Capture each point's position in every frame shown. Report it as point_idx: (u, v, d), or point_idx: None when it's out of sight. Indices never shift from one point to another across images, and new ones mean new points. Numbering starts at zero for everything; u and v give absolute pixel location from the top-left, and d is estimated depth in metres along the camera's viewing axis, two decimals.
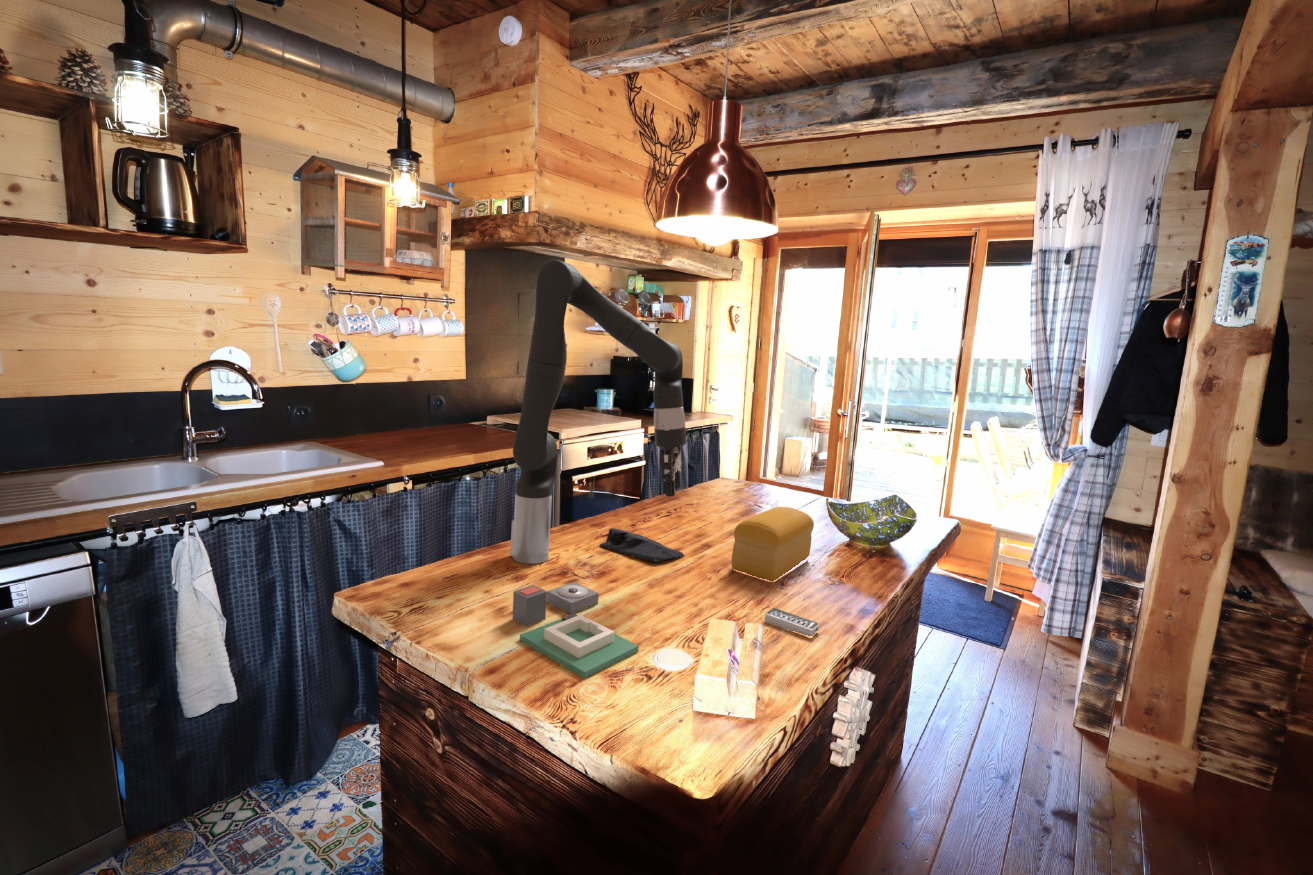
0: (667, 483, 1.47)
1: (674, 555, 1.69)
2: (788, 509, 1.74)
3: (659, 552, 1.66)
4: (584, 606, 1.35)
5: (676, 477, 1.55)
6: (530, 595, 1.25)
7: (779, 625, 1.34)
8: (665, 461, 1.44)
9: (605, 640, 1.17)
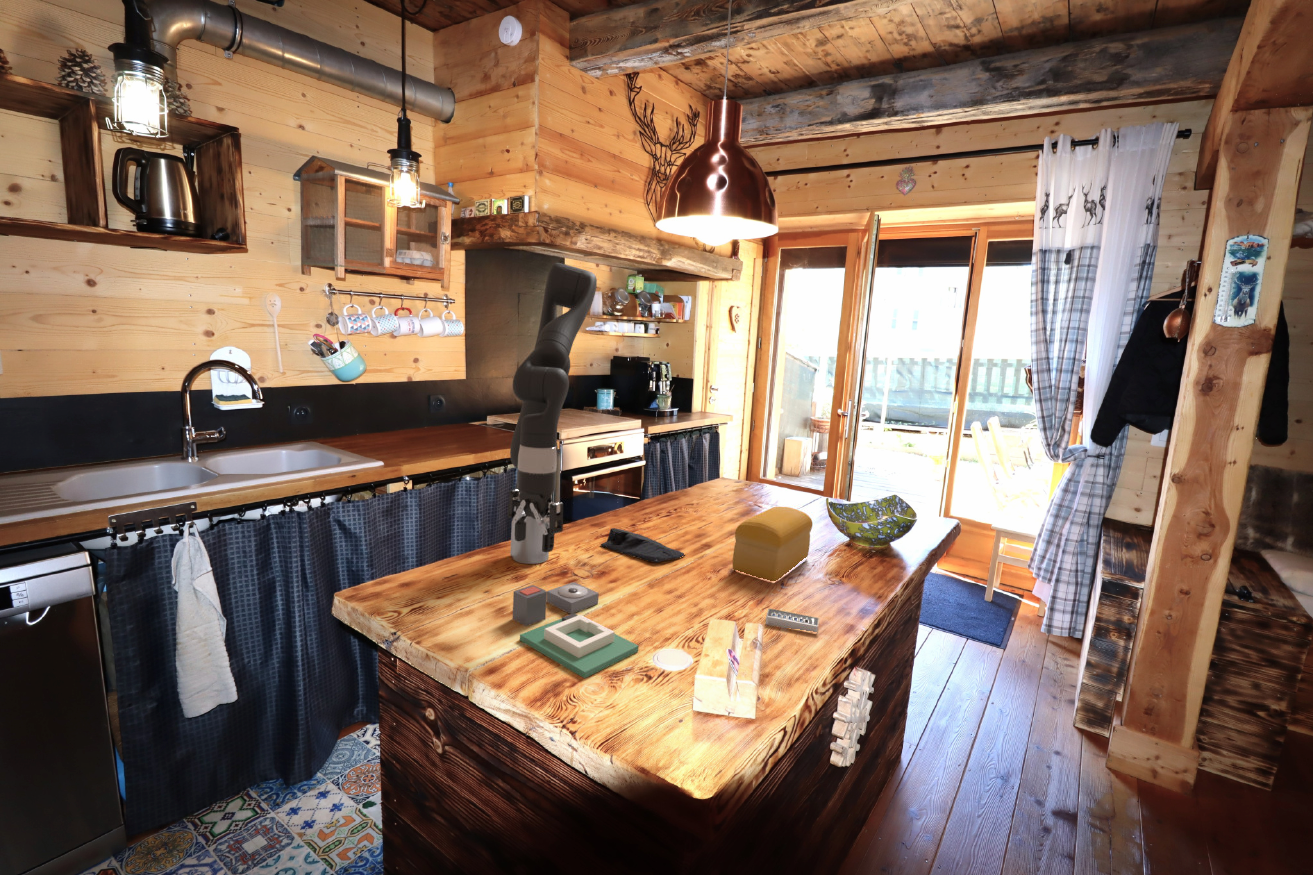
0: None
1: (675, 555, 1.69)
2: (787, 509, 1.74)
3: (660, 552, 1.66)
4: (584, 606, 1.35)
5: None
6: (530, 595, 1.25)
7: (782, 626, 1.34)
8: None
9: (605, 640, 1.17)
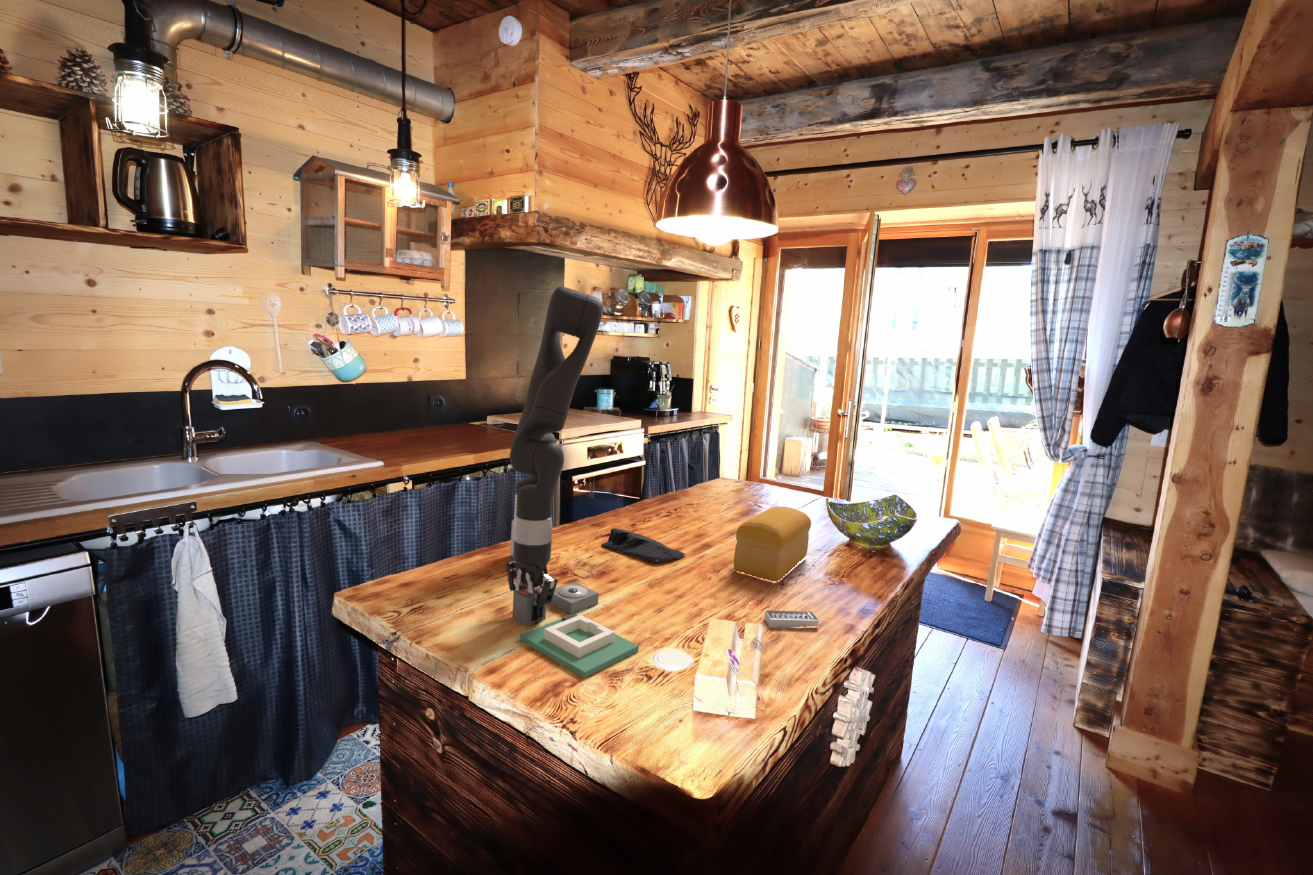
0: None
1: (675, 555, 1.69)
2: (786, 509, 1.74)
3: (660, 552, 1.66)
4: (584, 606, 1.35)
5: None
6: (530, 595, 1.25)
7: (786, 626, 1.34)
8: None
9: (605, 640, 1.17)
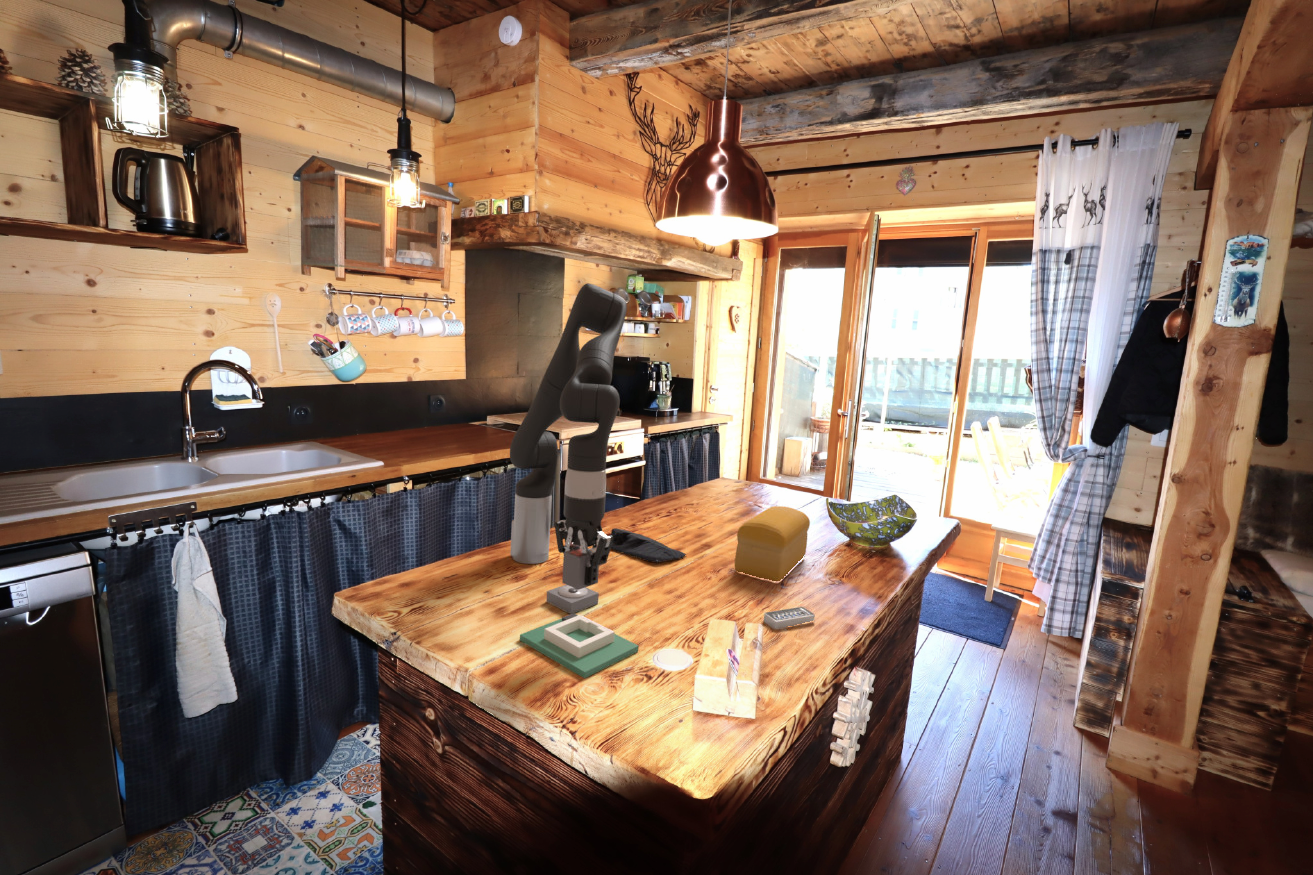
0: None
1: (676, 556, 1.69)
2: (785, 508, 1.74)
3: (661, 552, 1.66)
4: (584, 606, 1.35)
5: None
6: (582, 555, 1.14)
7: (789, 625, 1.34)
8: None
9: (605, 640, 1.17)
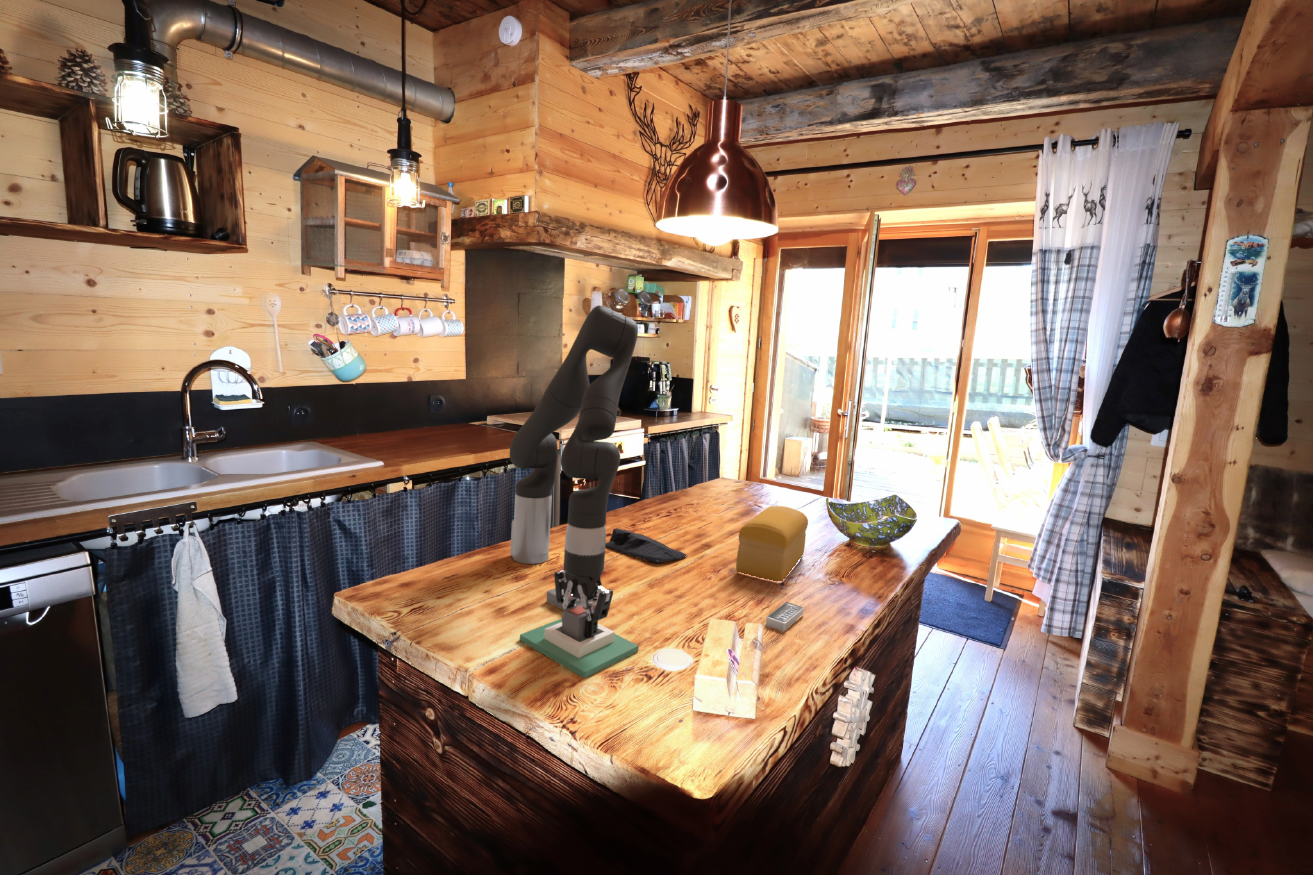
0: None
1: (677, 556, 1.68)
2: (784, 508, 1.74)
3: (661, 553, 1.66)
4: None
5: None
6: (581, 615, 1.16)
7: None
8: None
9: (605, 640, 1.17)
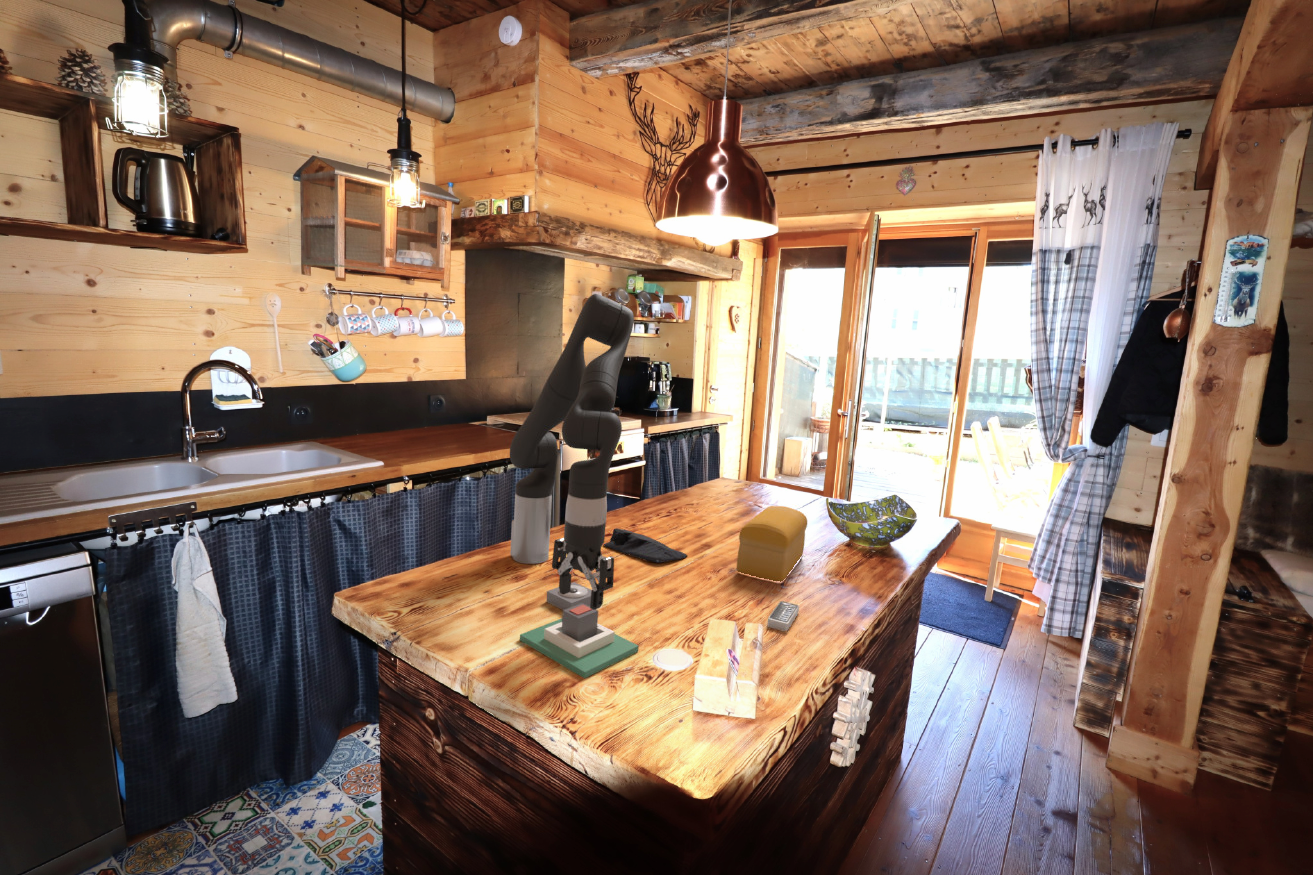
0: None
1: (677, 556, 1.68)
2: (784, 508, 1.74)
3: (661, 553, 1.66)
4: None
5: None
6: (581, 615, 1.16)
7: (791, 623, 1.35)
8: None
9: (605, 640, 1.17)
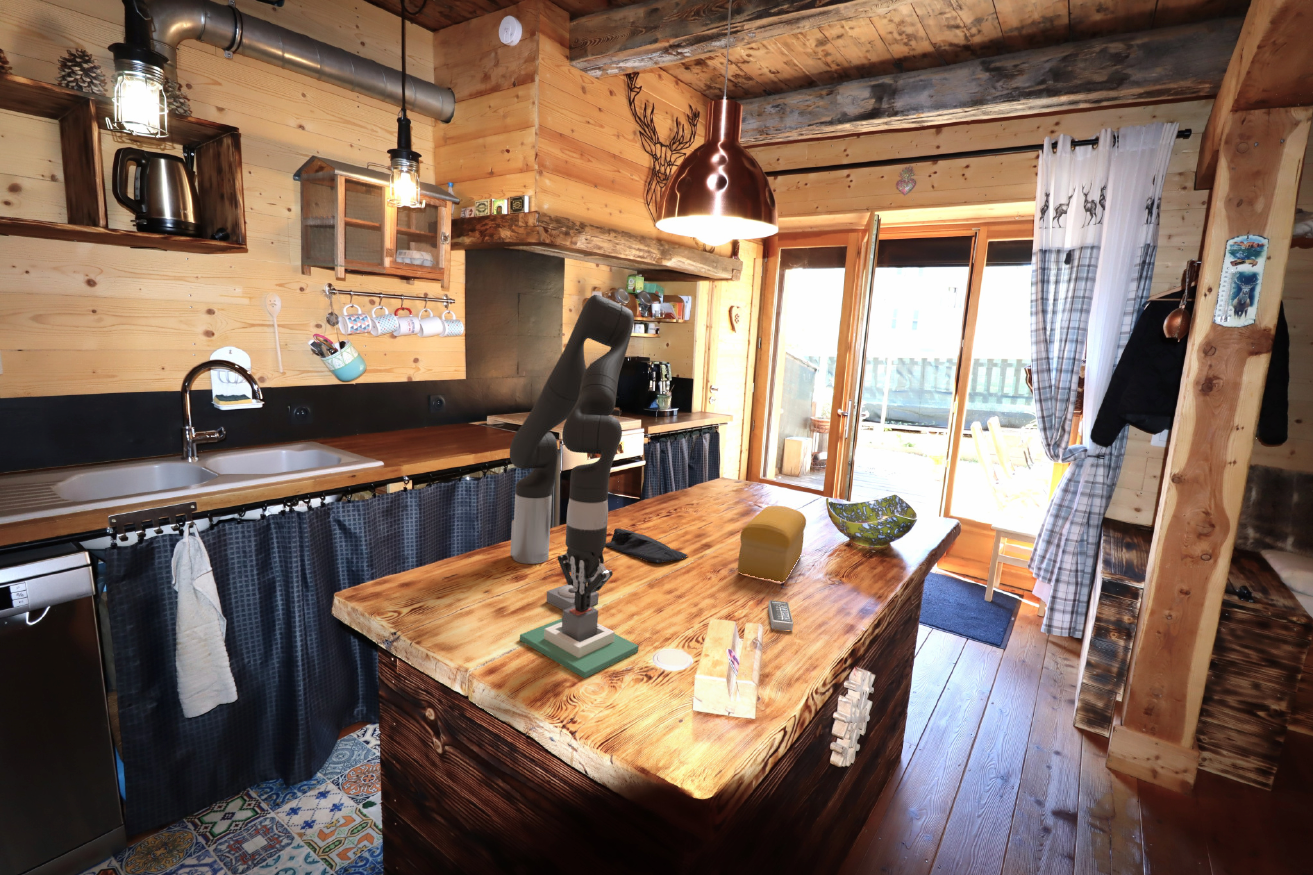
0: None
1: (677, 556, 1.68)
2: (783, 508, 1.74)
3: (661, 553, 1.66)
4: None
5: None
6: (581, 615, 1.16)
7: None
8: None
9: (605, 640, 1.17)
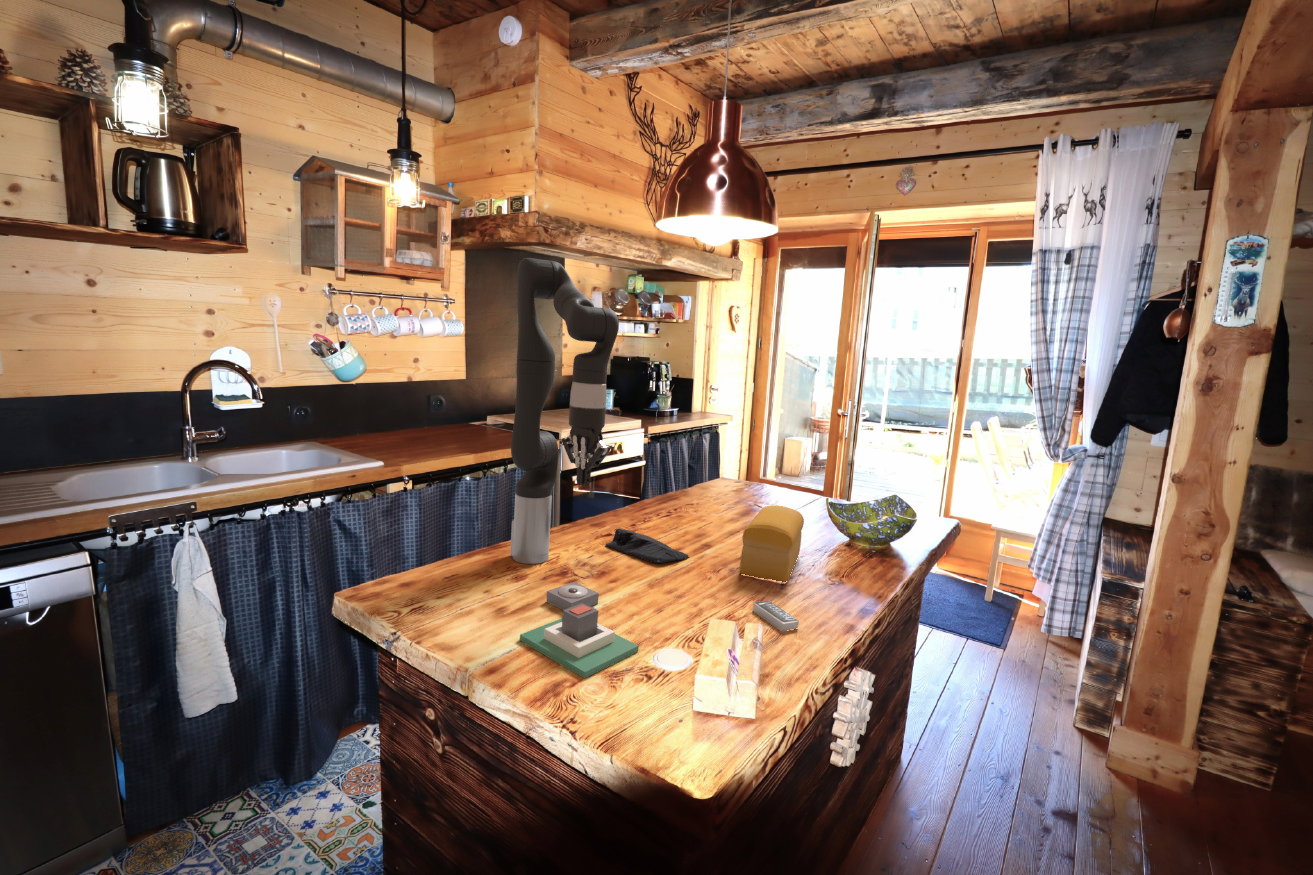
0: None
1: (678, 557, 1.68)
2: (782, 508, 1.75)
3: (662, 553, 1.66)
4: None
5: None
6: (581, 615, 1.16)
7: None
8: None
9: (605, 640, 1.17)
